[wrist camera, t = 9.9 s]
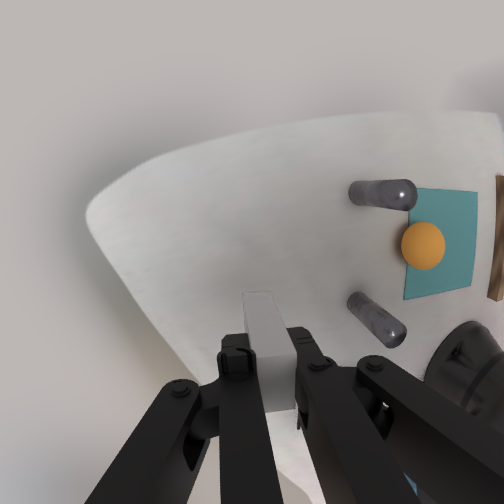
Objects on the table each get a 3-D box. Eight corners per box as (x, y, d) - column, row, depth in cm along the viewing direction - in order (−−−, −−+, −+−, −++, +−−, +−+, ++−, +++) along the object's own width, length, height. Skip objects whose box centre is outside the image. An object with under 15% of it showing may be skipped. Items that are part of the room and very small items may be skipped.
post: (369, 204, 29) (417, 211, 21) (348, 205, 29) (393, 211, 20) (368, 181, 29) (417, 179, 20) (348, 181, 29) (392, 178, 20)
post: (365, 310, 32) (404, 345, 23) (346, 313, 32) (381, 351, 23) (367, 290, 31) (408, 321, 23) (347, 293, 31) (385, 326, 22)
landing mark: (470, 285, 33) (471, 285, 33) (403, 299, 32) (404, 300, 32) (476, 192, 30) (477, 192, 30) (408, 187, 29) (409, 188, 29)
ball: (391, 267, 31) (422, 261, 32) (422, 278, 25) (452, 270, 26) (391, 221, 30) (422, 218, 31) (424, 225, 24) (454, 222, 25)
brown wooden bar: (493, 295, 34) (502, 299, 32) (487, 297, 34) (496, 301, 32) (501, 176, 30) (512, 177, 28) (495, 175, 30) (506, 175, 28)
